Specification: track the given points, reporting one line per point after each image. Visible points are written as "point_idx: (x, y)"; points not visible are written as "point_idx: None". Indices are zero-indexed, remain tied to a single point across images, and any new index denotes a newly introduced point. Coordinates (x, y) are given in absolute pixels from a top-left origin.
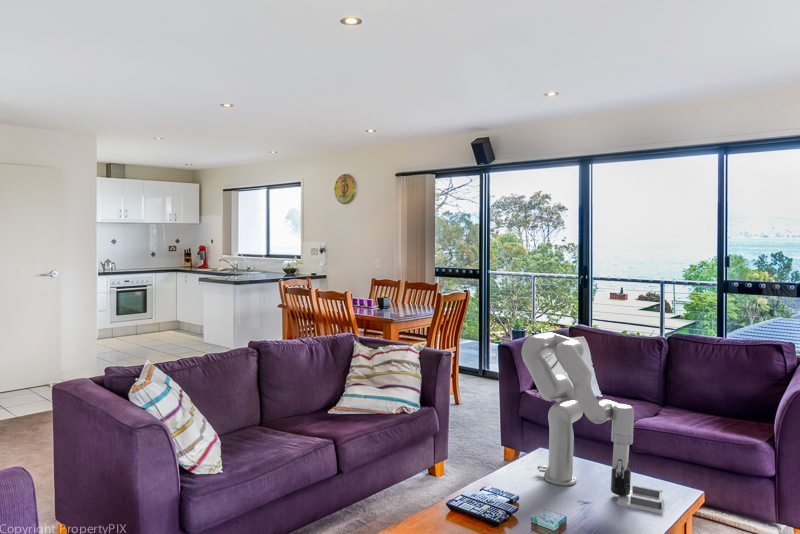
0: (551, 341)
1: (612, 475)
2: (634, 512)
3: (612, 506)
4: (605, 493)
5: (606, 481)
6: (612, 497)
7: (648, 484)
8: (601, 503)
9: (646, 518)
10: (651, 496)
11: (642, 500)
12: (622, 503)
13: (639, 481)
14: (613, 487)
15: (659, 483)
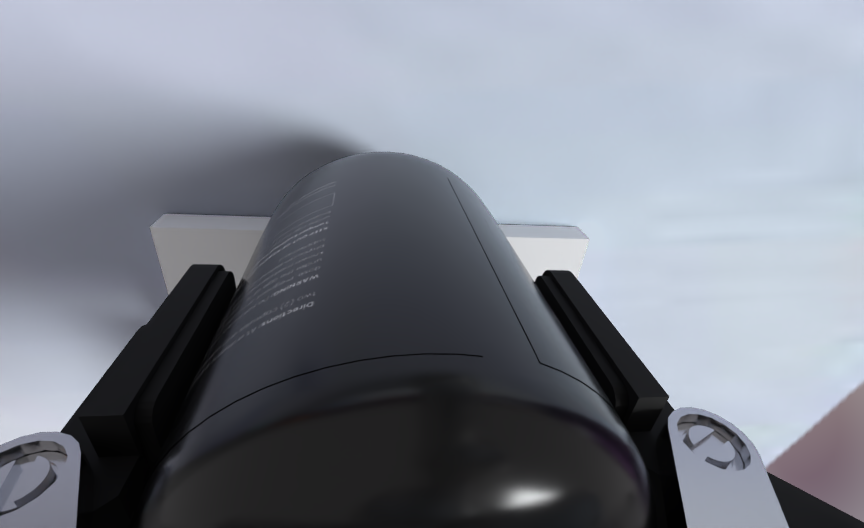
0: None
1: (271, 316)
2: (104, 357)
3: (70, 163)
4: (437, 60)
5: (818, 62)
6: (351, 152)
7: (739, 395)
8: (43, 9)
9: (58, 431)
10: None
11: None
12: (166, 273)
13: (797, 345)
14: (276, 219)
15: (757, 440)
